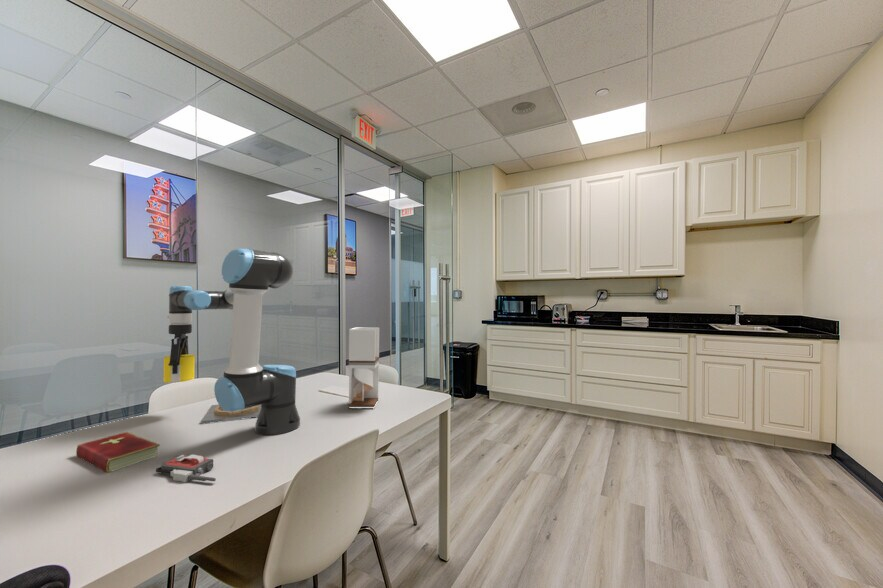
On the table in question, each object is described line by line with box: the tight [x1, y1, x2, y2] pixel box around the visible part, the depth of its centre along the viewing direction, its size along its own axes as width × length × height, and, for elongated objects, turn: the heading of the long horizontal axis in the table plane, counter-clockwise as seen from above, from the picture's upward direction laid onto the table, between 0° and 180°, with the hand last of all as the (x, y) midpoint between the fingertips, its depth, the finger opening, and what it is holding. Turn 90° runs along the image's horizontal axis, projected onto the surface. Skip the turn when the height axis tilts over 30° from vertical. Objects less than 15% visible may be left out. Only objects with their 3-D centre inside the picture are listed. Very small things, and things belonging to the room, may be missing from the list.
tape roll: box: [162, 353, 196, 384], centre depth 140 cm, size 10×10×9 cm
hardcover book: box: [76, 431, 160, 474], centre depth 104 cm, size 12×21×4 cm, turn 63°
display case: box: [347, 327, 380, 408], centre depth 158 cm, size 11×11×35 cm
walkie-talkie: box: [155, 454, 217, 483], centre depth 95 cm, size 9×4×20 cm
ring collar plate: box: [200, 404, 261, 425], centre depth 146 cm, size 22×22×2 cm
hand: (179, 379), depth 140 cm, fingers closed on tape roll, 10 cm apart
